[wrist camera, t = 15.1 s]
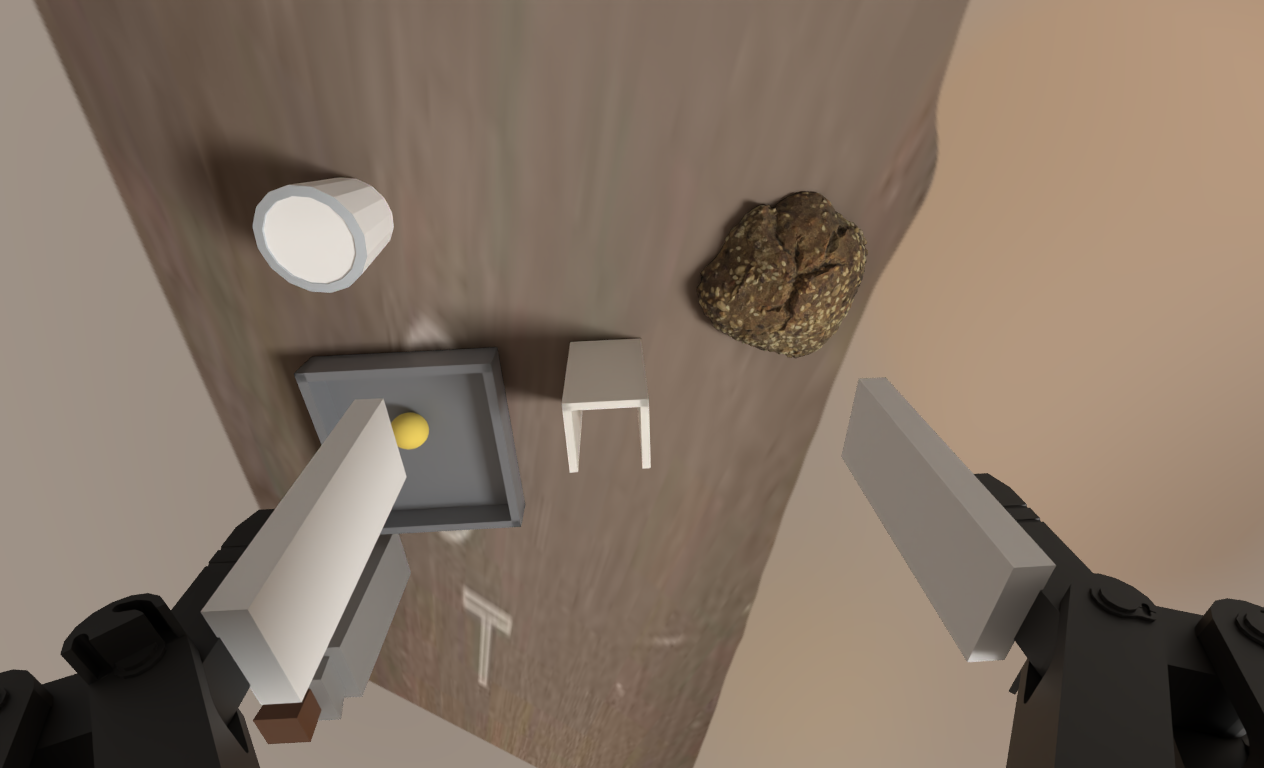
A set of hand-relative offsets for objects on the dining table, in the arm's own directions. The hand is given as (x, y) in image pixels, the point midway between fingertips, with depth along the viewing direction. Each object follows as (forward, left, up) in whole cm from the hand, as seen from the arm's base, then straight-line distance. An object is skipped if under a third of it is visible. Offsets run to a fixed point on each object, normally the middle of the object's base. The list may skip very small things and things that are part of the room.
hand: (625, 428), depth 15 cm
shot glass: (0, -19, -30) cm, 35 cm away
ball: (+17, -19, -27) cm, 37 cm away
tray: (+20, -18, -29) cm, 40 cm away
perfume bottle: (+34, -27, -30) cm, 52 cm away
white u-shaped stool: (+14, -1, -29) cm, 32 cm away
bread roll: (+6, +14, -30) cm, 33 cm away
